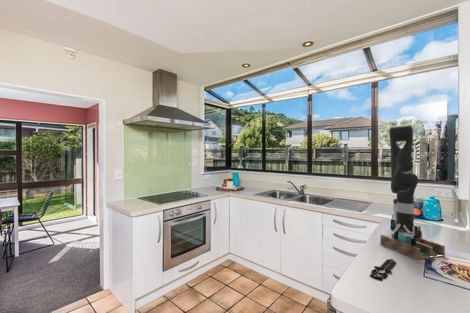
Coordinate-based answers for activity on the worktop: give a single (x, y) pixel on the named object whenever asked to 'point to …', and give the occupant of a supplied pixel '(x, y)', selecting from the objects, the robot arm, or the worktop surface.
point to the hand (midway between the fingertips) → (404, 242)
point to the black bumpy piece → (383, 269)
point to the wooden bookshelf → (414, 247)
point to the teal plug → (404, 238)
